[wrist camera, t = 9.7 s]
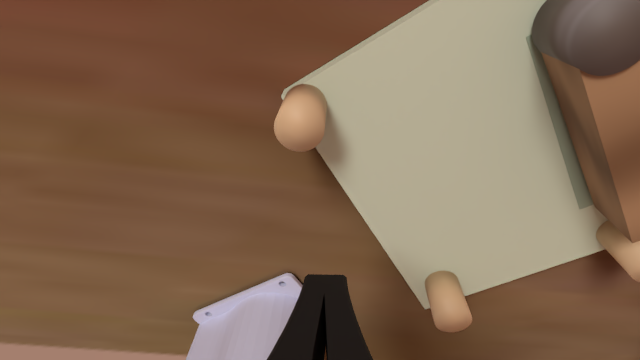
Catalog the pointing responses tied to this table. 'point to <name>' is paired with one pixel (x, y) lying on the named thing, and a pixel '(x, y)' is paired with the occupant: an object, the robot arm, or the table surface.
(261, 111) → the table surface
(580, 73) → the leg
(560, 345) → the table surface
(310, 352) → the robot arm
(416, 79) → the seat
